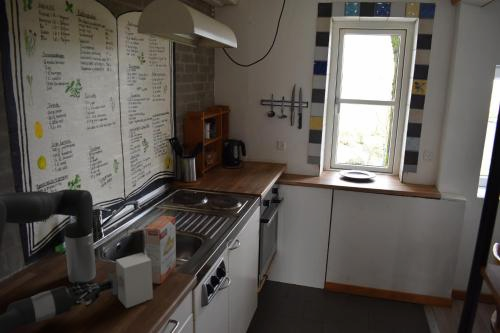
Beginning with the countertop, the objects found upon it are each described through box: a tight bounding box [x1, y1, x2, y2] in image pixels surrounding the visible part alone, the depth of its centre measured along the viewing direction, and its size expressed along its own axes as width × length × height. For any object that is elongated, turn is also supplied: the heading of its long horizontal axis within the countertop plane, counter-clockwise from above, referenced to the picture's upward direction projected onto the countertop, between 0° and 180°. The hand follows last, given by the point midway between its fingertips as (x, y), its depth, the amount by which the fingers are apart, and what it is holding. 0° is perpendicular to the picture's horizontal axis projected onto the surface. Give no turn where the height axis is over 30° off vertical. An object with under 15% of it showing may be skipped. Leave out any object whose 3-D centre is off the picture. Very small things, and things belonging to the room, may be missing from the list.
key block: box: [115, 252, 154, 309], centre depth 126 cm, size 7×9×14 cm
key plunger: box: [106, 272, 123, 296], centre depth 123 cm, size 5×8×5 cm, turn 130°
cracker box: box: [145, 215, 177, 285], centre depth 141 cm, size 14×6×21 cm, turn 168°
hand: (110, 284), depth 121 cm, fingers closed
